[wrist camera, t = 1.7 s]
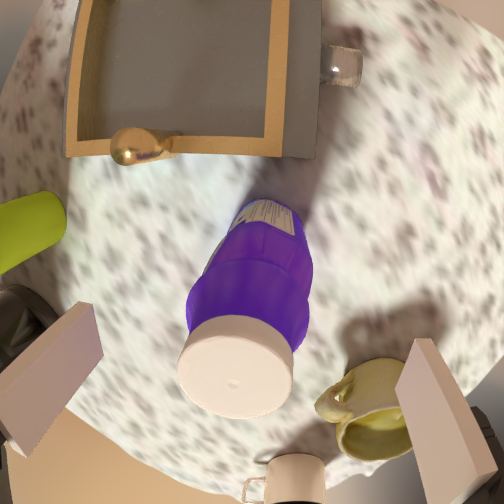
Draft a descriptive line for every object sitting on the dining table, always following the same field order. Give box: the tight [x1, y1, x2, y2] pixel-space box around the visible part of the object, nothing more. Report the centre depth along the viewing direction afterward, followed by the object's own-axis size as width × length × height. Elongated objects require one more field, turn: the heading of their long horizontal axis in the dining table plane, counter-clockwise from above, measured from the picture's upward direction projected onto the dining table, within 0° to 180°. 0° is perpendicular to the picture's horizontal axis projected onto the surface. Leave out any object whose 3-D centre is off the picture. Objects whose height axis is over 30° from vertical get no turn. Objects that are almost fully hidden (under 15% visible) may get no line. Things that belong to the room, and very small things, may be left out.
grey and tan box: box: [62, 0, 363, 166], centre depth 16 cm, size 21×15×12 cm
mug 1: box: [242, 453, 326, 504], centre depth 33 cm, size 12×10×9 cm
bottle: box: [177, 199, 313, 419], centre depth 18 cm, size 7×6×17 cm
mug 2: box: [314, 358, 413, 462], centre depth 27 cm, size 12×10×10 cm
